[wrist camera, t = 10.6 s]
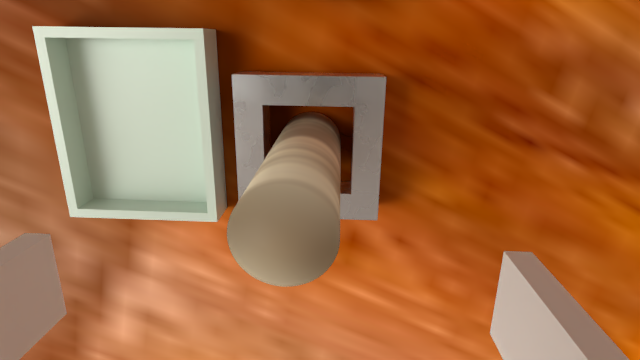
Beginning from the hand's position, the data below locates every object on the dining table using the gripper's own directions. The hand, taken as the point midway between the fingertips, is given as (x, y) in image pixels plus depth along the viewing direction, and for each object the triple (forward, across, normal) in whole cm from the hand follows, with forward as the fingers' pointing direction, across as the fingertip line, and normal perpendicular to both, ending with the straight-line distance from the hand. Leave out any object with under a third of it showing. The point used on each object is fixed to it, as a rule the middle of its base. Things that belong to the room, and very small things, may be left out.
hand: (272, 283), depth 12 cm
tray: (+17, -11, +1) cm, 20 cm away
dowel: (+17, 0, 0) cm, 17 cm away
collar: (+17, 0, 0) cm, 17 cm away
